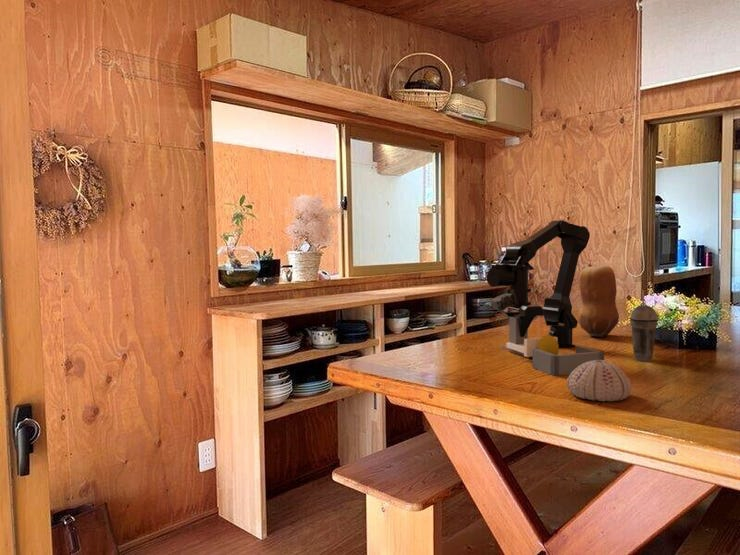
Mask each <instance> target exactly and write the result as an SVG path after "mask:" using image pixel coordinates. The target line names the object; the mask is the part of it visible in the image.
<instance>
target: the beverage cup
mask: <svg viewBox="0 0 740 555" xmlns="http://www.w3.org/2000/svg"><path fill="white" fill-rule="evenodd" d="M641 295H642V297H641V300H642V301H641V302H642V304H641V305H637V306H636V307H635V308H634V309H633V310H632V311H631V313H630V318H629V321H630V326H631V335H632V336H631V337H632V346H633V347H632V349H633V357H634V358H633V360H635V361H638V362H652V361H653V356H654V348H655V340H656V330H657V327H658V321H659V319H658V314H657V312H656V310H655V309H654V308H653V307H651V306H649V305H645V290H644V289H642V290H641Z"/></svg>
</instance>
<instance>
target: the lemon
mask: <svg viewBox="0 0 740 555" xmlns="http://www.w3.org/2000/svg"><path fill="white" fill-rule="evenodd" d="M540 338H541V339H540V341H539V344H538V349H539V350H542V351H546V352H549V353H552V354H555V355H559V350H560V349H559V348H560V347H558V342H557V340H556V339H555V338H554V337H552V336H550V335H549V333H547V334H546V335H544V336H542V337H540Z"/></svg>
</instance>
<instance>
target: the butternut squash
mask: <svg viewBox="0 0 740 555" xmlns="http://www.w3.org/2000/svg"><path fill="white" fill-rule="evenodd" d="M578 280H579V281H578V283H579V284H578V285H579V291H580V296H581V305H580V308H579V310H578V314H577V315H578V316H577V317H578V319H577V321H578V324H579V325H580V327H581V329H582V330H583V331H585V332H586V333H587V334H589V335H590V336H592V337H598V338H606V337H607V336H608V335H609V334H610V333H611V332H612V331H613V330H614V328H615V327H616V326H617V325H618V324H619V320H620V316H619V311H618V308H617V304H616V298H617V293H618V292H617V280H616V275H615V271H614V269H613V268H612V267H610V266H609V265H598V266H587V267H586V266H585V267H584V268H583V269H581V271H580V272H579V278H578ZM605 336H606V337H605Z"/></svg>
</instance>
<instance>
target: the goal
mask: <svg viewBox="0 0 740 555" xmlns="http://www.w3.org/2000/svg"><path fill="white" fill-rule="evenodd" d="M593 360H604V361H605V352H604V351H600V350H597V349H594V348H590V347H587V346H582V345H575V353H563V354H562V353H561V354H558V355H555V354H552V353H549V352H546V351H542V350H539V349H533V358H532V369H535V370H537V371H541V372H543V373H546V374H548V375H551V376H554V377H556V376H557V377H558V376H569V375H570V374H571V373H572V371H574V370H575V369H576V368H577V367H578V366H580V365H581V364H582V363H586V362H589V361H593Z"/></svg>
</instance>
